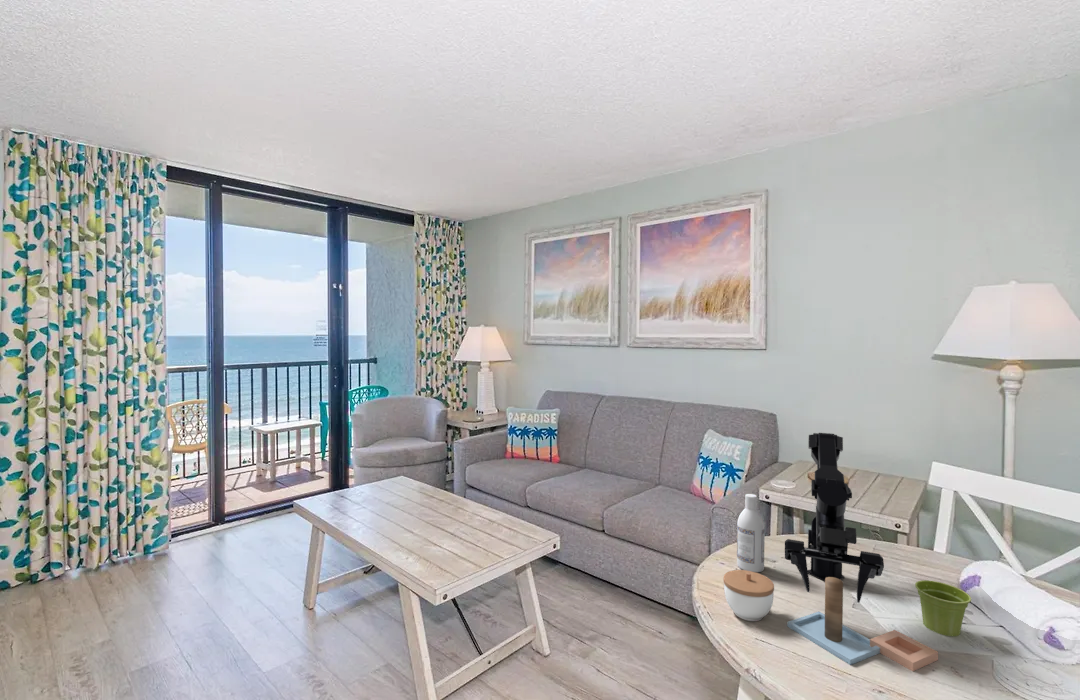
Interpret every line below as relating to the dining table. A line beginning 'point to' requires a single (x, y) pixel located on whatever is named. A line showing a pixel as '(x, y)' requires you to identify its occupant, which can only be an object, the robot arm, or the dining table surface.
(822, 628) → the tray
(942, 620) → the plant pot
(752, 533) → the bath foam
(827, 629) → the peg
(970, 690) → the dining table surface
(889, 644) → the holder
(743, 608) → the lidded jar
